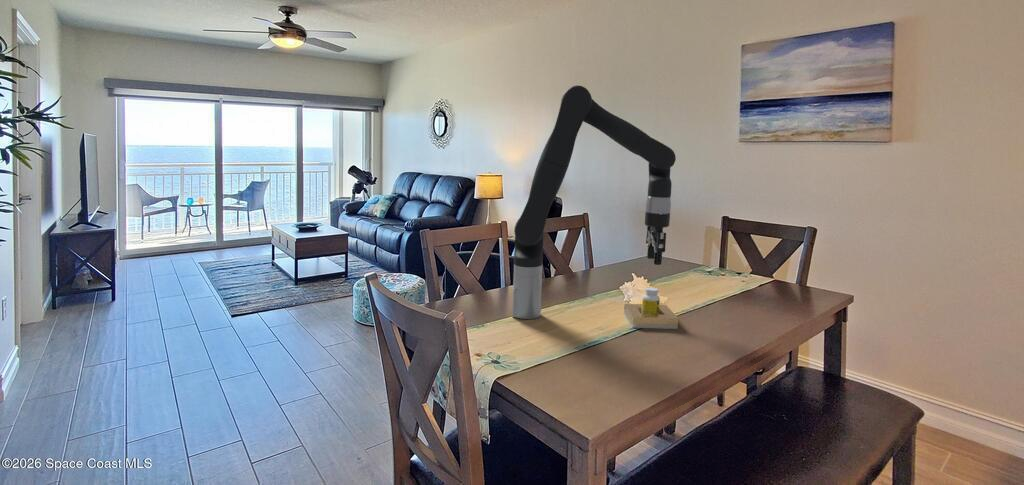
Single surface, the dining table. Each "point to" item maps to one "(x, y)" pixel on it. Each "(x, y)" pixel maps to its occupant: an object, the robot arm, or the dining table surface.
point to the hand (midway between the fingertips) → (653, 261)
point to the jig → (650, 317)
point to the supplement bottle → (650, 301)
